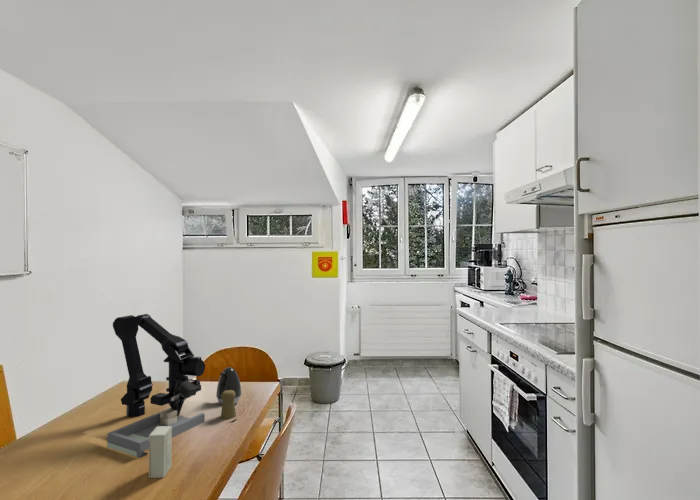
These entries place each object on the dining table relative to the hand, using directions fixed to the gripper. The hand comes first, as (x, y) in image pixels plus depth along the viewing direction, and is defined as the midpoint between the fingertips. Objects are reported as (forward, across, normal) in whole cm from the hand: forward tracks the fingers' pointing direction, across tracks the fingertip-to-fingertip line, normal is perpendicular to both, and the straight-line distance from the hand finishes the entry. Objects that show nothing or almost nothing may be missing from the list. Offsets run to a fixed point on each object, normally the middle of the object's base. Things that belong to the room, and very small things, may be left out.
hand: (177, 415), depth 150 cm
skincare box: (+3, -27, -24) cm, 36 cm away
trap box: (+2, -11, -3) cm, 11 cm away
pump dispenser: (+3, +23, -4) cm, 24 cm away
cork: (+3, +10, -16) cm, 19 cm away
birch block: (+1, -4, 0) cm, 4 cm away
